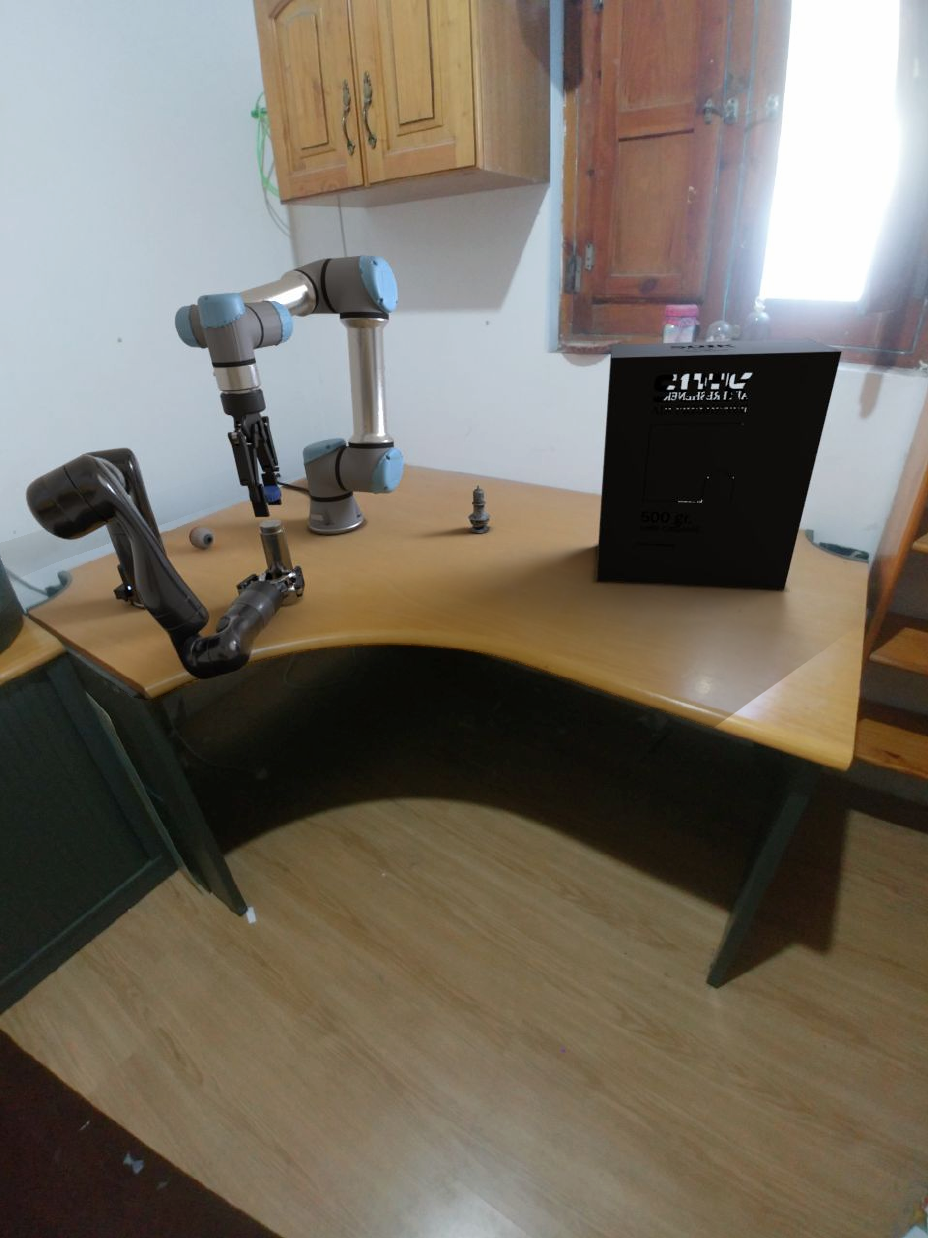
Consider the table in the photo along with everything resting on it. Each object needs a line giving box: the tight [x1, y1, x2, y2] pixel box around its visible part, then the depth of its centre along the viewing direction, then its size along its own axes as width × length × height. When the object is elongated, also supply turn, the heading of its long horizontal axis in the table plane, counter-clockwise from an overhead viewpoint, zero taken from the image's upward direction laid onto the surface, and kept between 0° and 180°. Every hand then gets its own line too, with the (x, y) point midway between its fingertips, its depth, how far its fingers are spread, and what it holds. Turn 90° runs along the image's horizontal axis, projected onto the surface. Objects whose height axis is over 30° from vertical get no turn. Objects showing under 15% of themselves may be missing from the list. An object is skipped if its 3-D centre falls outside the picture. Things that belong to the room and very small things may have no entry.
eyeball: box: [188, 525, 215, 550], centre depth 158 cm, size 6×6×6 cm
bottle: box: [258, 519, 300, 606], centre depth 127 cm, size 5×5×18 cm
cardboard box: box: [596, 337, 842, 591], centre depth 125 cm, size 38×20×45 cm, turn 78°
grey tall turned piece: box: [467, 485, 491, 534], centre depth 158 cm, size 6×6×12 cm
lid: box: [248, 486, 283, 504], centre depth 120 cm, size 6×6×2 cm
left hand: (286, 570), depth 131 cm, fingers closed on bottle, 5 cm apart
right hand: (268, 510), depth 121 cm, fingers closed on lid, 6 cm apart
